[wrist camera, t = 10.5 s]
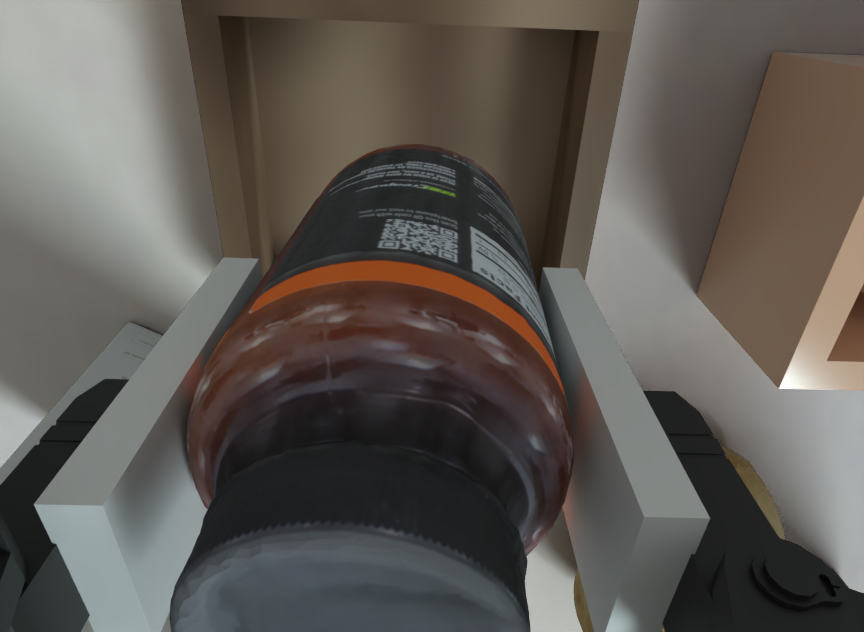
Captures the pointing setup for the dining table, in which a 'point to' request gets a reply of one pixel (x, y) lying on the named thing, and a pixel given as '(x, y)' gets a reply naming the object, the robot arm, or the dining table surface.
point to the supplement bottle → (380, 417)
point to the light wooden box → (797, 227)
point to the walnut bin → (408, 104)
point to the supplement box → (110, 364)
